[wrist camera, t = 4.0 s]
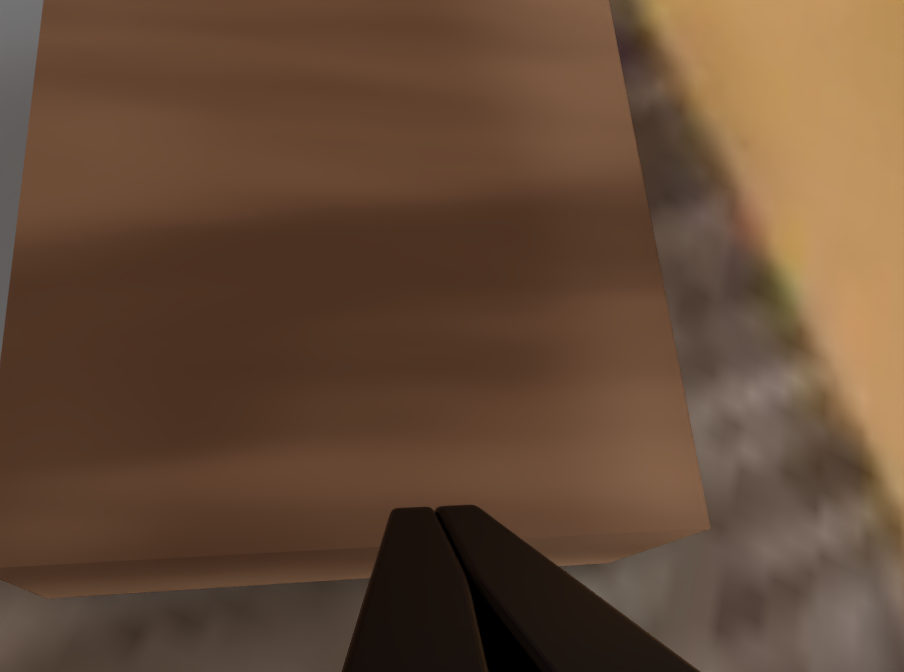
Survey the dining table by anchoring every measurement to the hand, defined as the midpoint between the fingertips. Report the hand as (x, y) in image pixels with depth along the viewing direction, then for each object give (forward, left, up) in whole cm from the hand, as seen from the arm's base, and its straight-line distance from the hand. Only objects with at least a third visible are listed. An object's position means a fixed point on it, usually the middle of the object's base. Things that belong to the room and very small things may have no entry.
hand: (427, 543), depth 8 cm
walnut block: (0, 0, -5) cm, 5 cm away
